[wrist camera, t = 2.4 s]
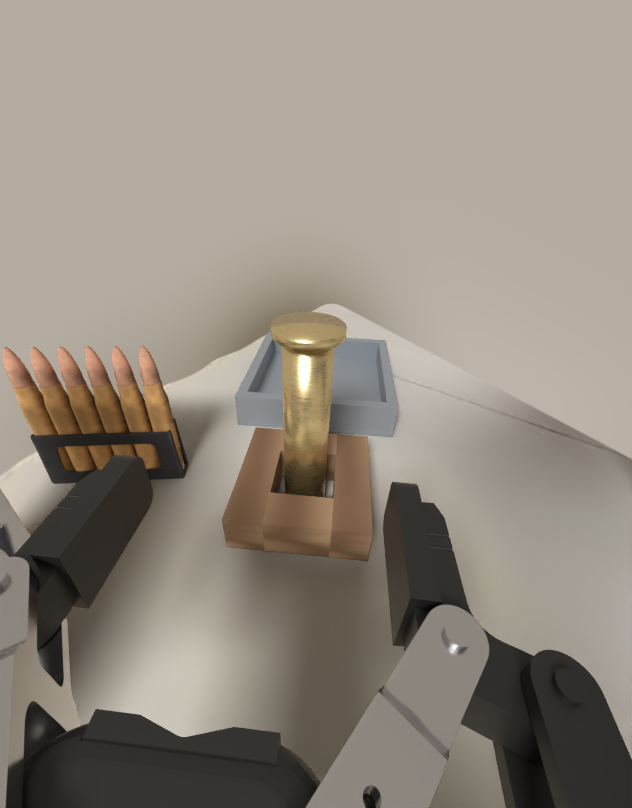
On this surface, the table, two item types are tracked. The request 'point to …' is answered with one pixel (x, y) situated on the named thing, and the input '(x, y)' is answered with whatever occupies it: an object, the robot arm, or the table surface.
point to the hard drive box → (10, 529)
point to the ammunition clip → (96, 415)
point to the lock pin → (307, 395)
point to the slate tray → (351, 389)
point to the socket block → (302, 502)
